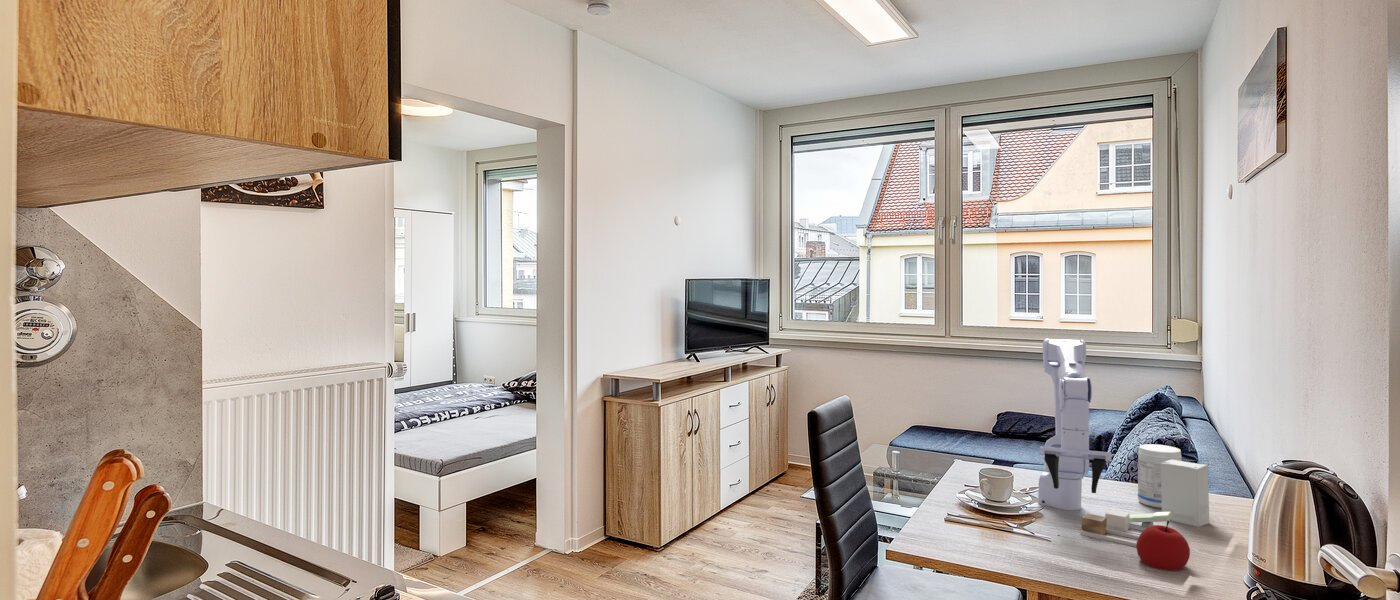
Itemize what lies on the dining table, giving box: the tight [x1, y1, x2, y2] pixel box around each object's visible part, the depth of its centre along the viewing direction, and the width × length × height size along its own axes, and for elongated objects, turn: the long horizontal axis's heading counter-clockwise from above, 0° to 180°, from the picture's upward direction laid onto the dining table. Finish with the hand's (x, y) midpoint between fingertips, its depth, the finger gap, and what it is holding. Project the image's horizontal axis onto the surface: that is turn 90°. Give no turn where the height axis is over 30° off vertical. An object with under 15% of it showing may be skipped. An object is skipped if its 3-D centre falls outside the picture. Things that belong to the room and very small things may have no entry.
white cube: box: [1104, 509, 1131, 531], centre depth 167 cm, size 4×4×4 cm
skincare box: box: [1161, 459, 1210, 528], centre depth 173 cm, size 8×6×15 cm
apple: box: [1136, 520, 1191, 572], centre depth 146 cm, size 9×9×10 cm
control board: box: [1079, 522, 1154, 547], centre depth 165 cm, size 20×22×3 cm
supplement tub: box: [1137, 443, 1183, 509], centre depth 189 cm, size 10×10×15 cm
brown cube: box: [1081, 512, 1107, 535], centre depth 164 cm, size 4×4×4 cm
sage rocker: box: [1129, 511, 1172, 524], centre depth 167 cm, size 9×4×1 cm, turn 47°
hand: (1074, 490), depth 166 cm, fingers open, 7 cm apart
